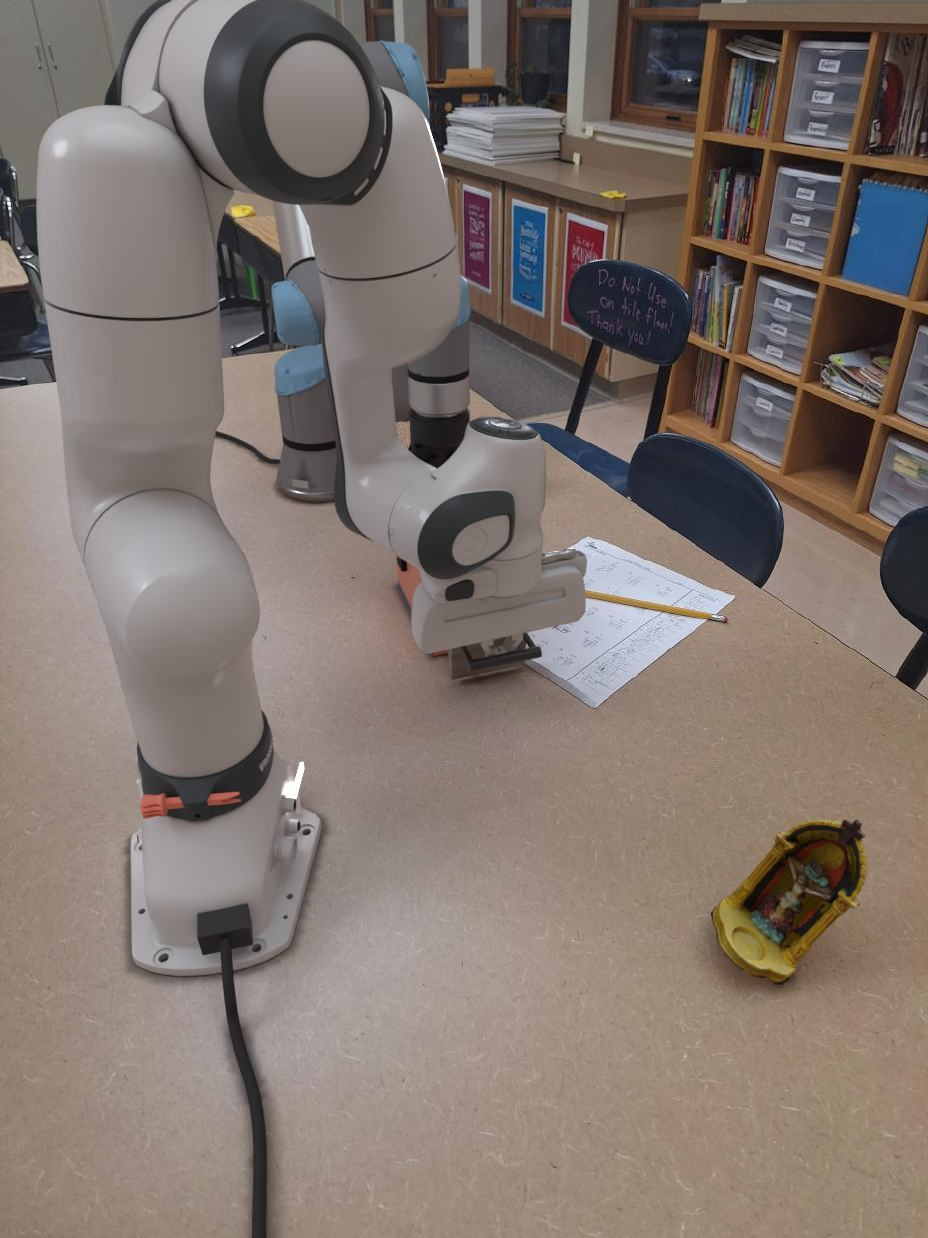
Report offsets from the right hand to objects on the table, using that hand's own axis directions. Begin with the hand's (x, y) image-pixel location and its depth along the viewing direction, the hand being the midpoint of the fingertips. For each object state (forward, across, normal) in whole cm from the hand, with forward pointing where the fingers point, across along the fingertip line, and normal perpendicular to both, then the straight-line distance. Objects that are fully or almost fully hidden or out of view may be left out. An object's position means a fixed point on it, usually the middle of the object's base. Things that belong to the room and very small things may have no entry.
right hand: (442, 559), depth 119 cm
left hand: (+1, 0, +23) cm, 23 cm away
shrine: (+6, -11, +63) cm, 64 cm away
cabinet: (+6, 0, +4) cm, 7 cm away
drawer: (+5, 0, +14) cm, 15 cm away
